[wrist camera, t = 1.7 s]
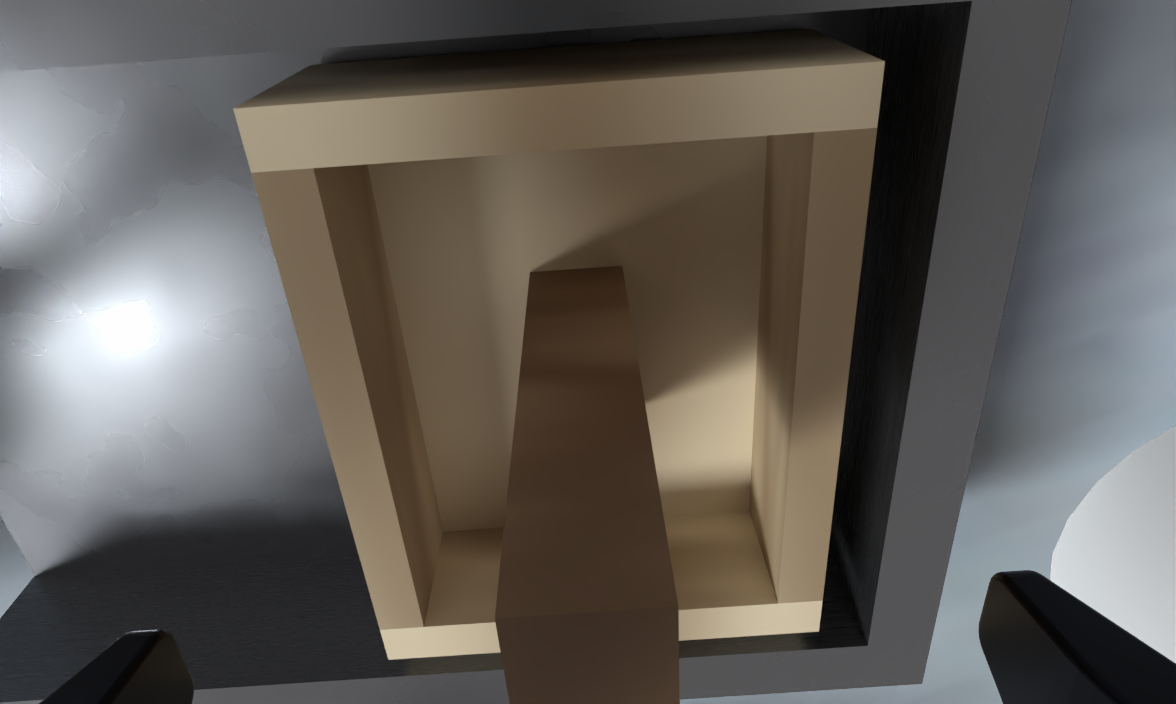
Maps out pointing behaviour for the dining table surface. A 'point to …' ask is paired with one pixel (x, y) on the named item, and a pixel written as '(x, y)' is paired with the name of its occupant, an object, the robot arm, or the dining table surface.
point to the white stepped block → (1127, 545)
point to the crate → (579, 337)
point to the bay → (279, 376)
